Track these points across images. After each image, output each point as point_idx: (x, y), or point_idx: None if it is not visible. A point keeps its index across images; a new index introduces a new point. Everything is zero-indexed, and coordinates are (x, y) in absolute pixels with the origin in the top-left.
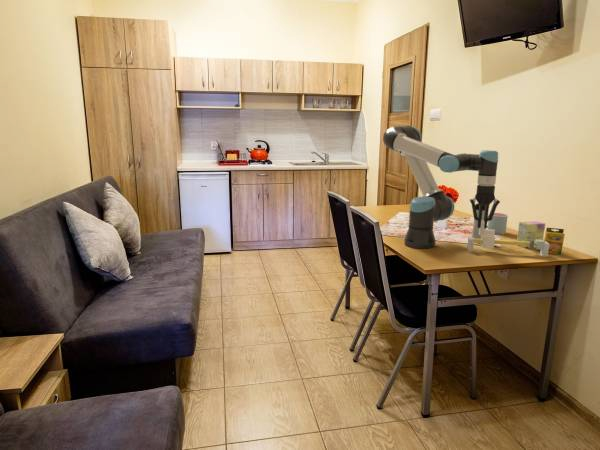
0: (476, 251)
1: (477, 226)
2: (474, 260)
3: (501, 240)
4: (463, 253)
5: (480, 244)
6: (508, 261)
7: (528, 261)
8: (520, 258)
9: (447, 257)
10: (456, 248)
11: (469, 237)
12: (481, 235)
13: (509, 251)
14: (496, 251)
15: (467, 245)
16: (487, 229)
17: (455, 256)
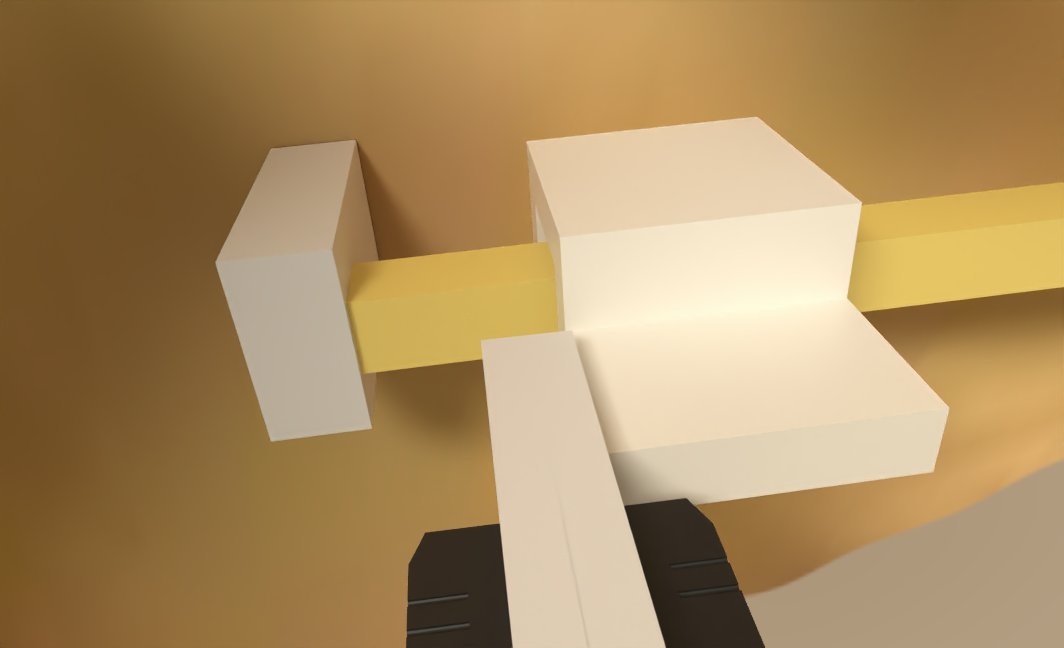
0: (445, 243)
1: (415, 575)
2: (402, 620)
3: (974, 267)
4: (238, 417)
5: (527, 156)
6: (806, 524)
7: (1055, 448)
8: (1020, 368)
9: (54, 636)
10: (62, 173)
11: (250, 294)
12: (558, 242)
13: (1041, 44)
14: (800, 125)
15: (259, 183)
16: (740, 445)
17: (147, 572)
